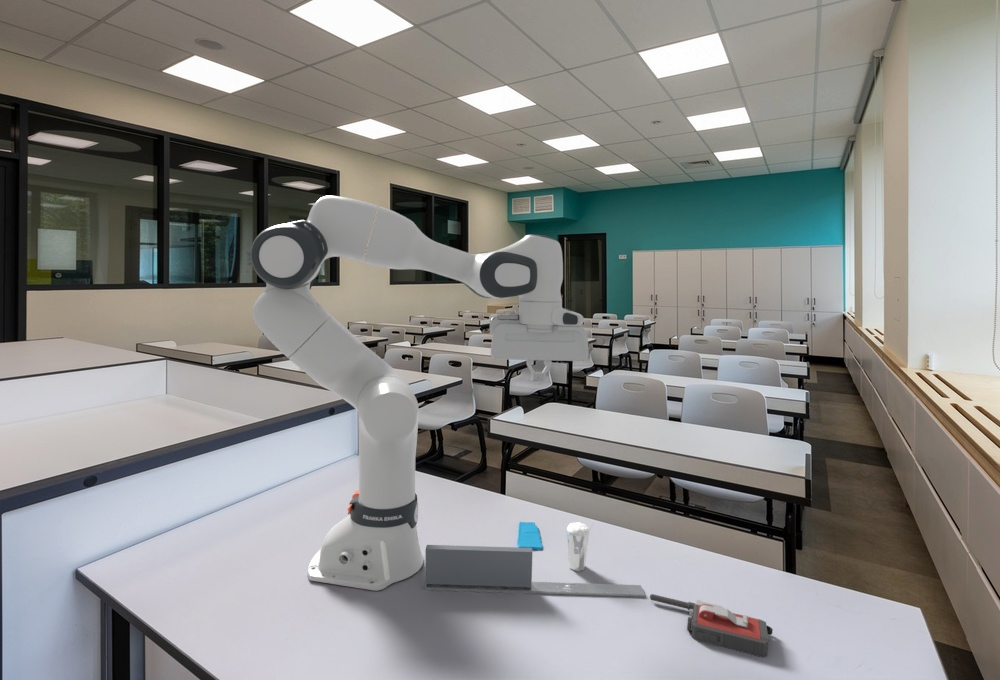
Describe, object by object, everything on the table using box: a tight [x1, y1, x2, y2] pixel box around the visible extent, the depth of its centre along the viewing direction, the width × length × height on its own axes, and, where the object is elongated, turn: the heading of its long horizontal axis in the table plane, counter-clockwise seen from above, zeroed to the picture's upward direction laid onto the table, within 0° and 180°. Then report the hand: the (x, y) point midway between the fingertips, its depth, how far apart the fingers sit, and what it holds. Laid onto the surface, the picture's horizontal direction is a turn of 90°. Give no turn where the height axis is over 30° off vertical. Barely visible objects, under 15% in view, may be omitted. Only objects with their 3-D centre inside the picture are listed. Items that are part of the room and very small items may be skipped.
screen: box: [425, 544, 533, 587], centre depth 99 cm, size 20×2×7 cm, turn 89°
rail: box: [424, 581, 645, 598], centre depth 99 cm, size 41×3×1 cm, turn 89°
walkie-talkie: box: [649, 593, 773, 658], centre depth 89 cm, size 9×4×20 cm
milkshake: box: [566, 521, 595, 572], centre depth 106 cm, size 5×5×10 cm
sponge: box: [516, 521, 544, 551], centre depth 119 cm, size 2×12×6 cm
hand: (538, 381), depth 110 cm, fingers closed
